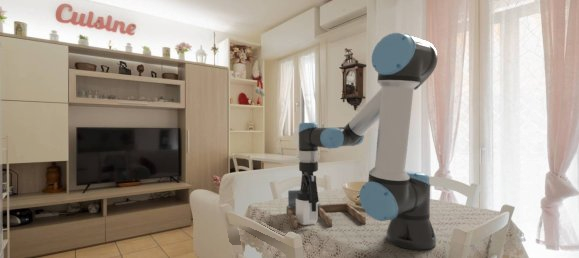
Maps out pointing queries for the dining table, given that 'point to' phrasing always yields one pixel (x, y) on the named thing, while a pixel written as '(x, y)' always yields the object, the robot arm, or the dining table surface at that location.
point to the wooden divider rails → (321, 210)
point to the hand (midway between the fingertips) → (309, 213)
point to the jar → (304, 208)
